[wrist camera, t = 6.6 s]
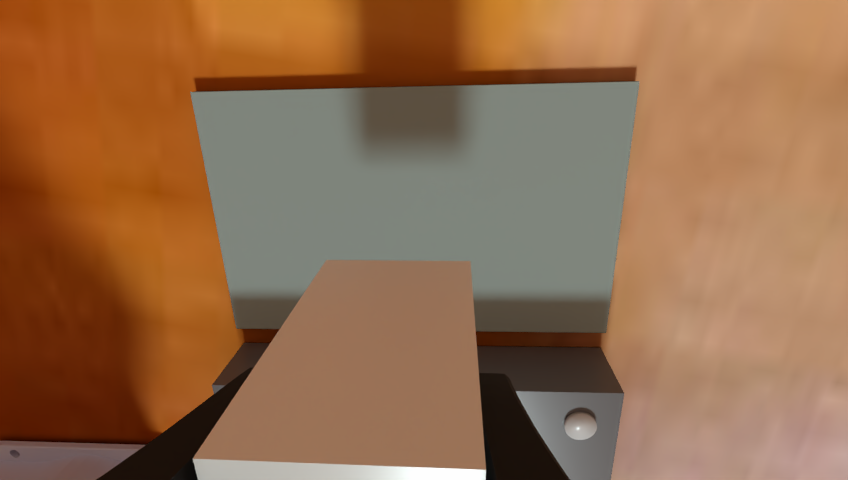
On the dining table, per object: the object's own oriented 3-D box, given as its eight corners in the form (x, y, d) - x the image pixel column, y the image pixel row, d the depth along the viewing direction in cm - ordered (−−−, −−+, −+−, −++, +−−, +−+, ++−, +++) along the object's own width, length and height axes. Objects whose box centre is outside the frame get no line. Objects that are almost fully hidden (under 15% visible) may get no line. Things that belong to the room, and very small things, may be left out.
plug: (338, 379, 14) (238, 643, 8) (326, 260, 13) (192, 458, 6) (468, 382, 14) (479, 658, 7) (470, 260, 13) (485, 470, 6)
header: (279, 528, 25) (256, 590, 22) (243, 342, 21) (209, 388, 18) (575, 541, 24) (592, 607, 21) (600, 347, 20) (626, 396, 17)
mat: (240, 323, 21) (236, 328, 20) (196, 91, 17) (190, 92, 17) (603, 327, 20) (605, 332, 19) (635, 81, 16) (639, 81, 16)
